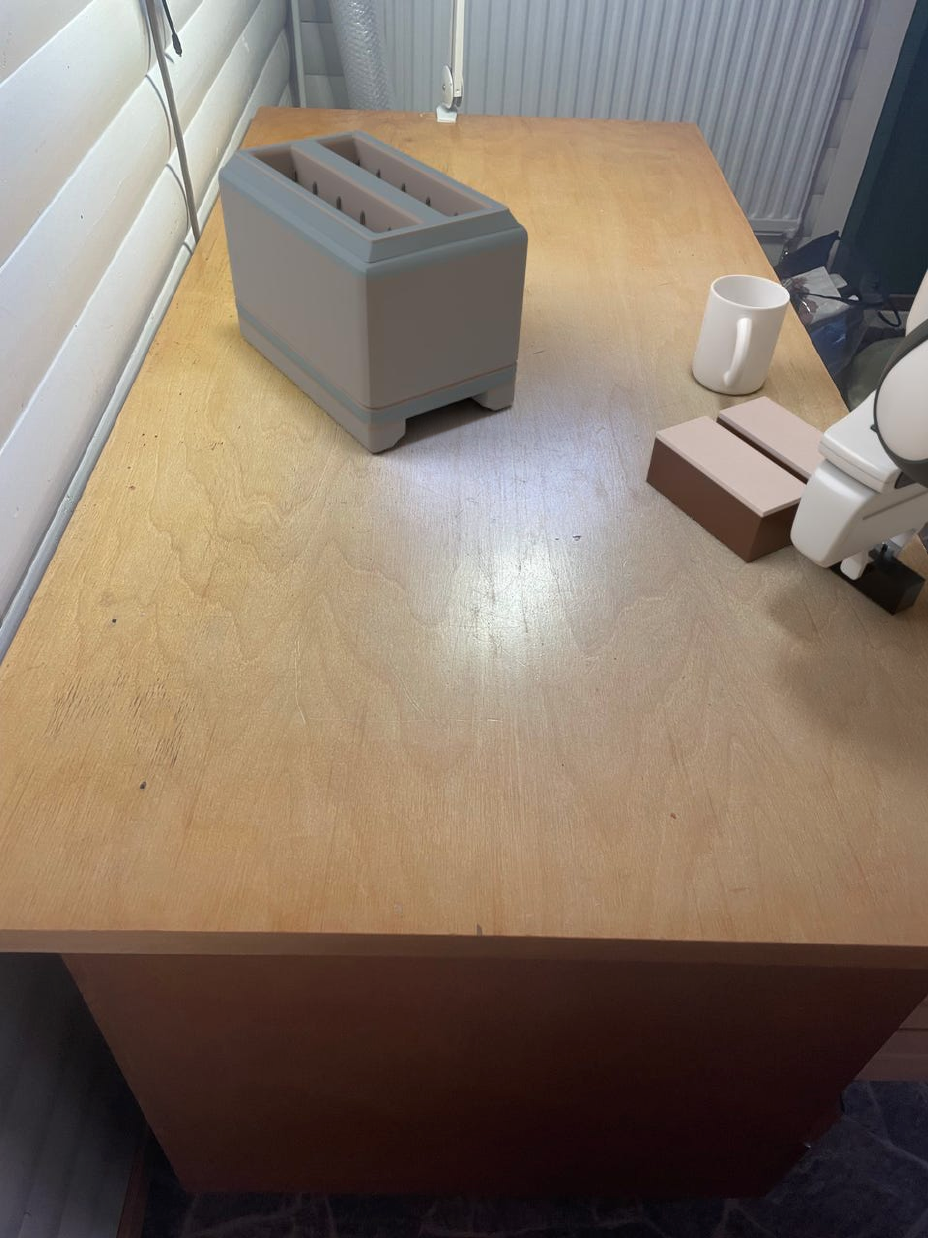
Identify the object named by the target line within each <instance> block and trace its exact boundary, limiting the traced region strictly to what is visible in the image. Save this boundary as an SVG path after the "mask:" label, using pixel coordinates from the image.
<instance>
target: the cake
mask: <svg viewBox="0 0 928 1238" xmlns="http://www.w3.org/2000/svg"><path fill="white" fill-rule="evenodd" d="M823 434H824V432H822V431H820V430H819V429H818V428H816V427H814V426H813V425H811V424H810V423H808V422H807V421H805V420H803V419H802V418H800V417H799V416H798V415H796V414H794V413H792V412H791V411H789V410H788V409H786V408H785V407H783V406H782V405H780V404H778V403H777V402H775V401H774V400H772V399H770V397H767V395H763V396H760V397H757V398H754V399H752V400H749V401H746V402H743V403H739V404H735V405H733V406H730V407H727V408H724V409H721V410H718V413H717V417H716V421H715V420H714V419H712V418H711V417H710V416H708V415H703V416H700V417H697V418H693V419H691V420H687V421H684V422H681V423H678V424H675V425H673V426H669V427H666V428H663V429H660V430H657V431H656V433H655V438H654V443H653V446H652V451H651V455H650V456H651V457H650V460H649V465H648V470H647V474H646V478H645V482H647V483H648V484H649V485H651V486H652V487H653V488H654V489H655V490H656V491H658V492H659V493H660V494H662V495H663V496H664V497H665V498H666V499H668V500H669V501H670V502H671V503H673V504H674V505H675V506H676V507H678V508H679V509H680V510H682V511H683V512H684V513H685V514H686V515H687V516H689V517H690V518H691V519H692V520H694V522H696V523H698V524H699V525H700V526H701V527H702V528H704V529H705V530H706V531H707V532H709V533H710V534H711V535H712V536H714V538H716V539H717V540H719V541H720V542H721V543H722V544H723V545H725V546H726V547H727V548H728V549H730V550H731V551H732V552H733V553H735V554H736V555H737V556H738V557H739V558H741V559H742V560H743V561H745V562H746V563H749V562H752V561H754V560H756V559H759V558H761V557H763V556H766V555H768V554H771V553H773V552H775V551H777V550H780V549H782V548H785V547H787V546H789V545H791V544H792V545H793V543H792V540H791V529H792V525H793V522H794V519H795V516H796V513H797V510H798V507H799V504H800V501H801V498H802V496H803V493H804V490H805V488H806V485H807V483H808V481H809V479H810V477H811V475H812V473H813V472H814V470H815V469H816V467H817V466H818V465H819V464H820V463H821V462H822V461H823V460H824V459H826V458H825V457H824V456H822V455H821V454H820V453H819V452H818V446H819V443H820V440H821V437H822V435H823Z"/></svg>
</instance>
